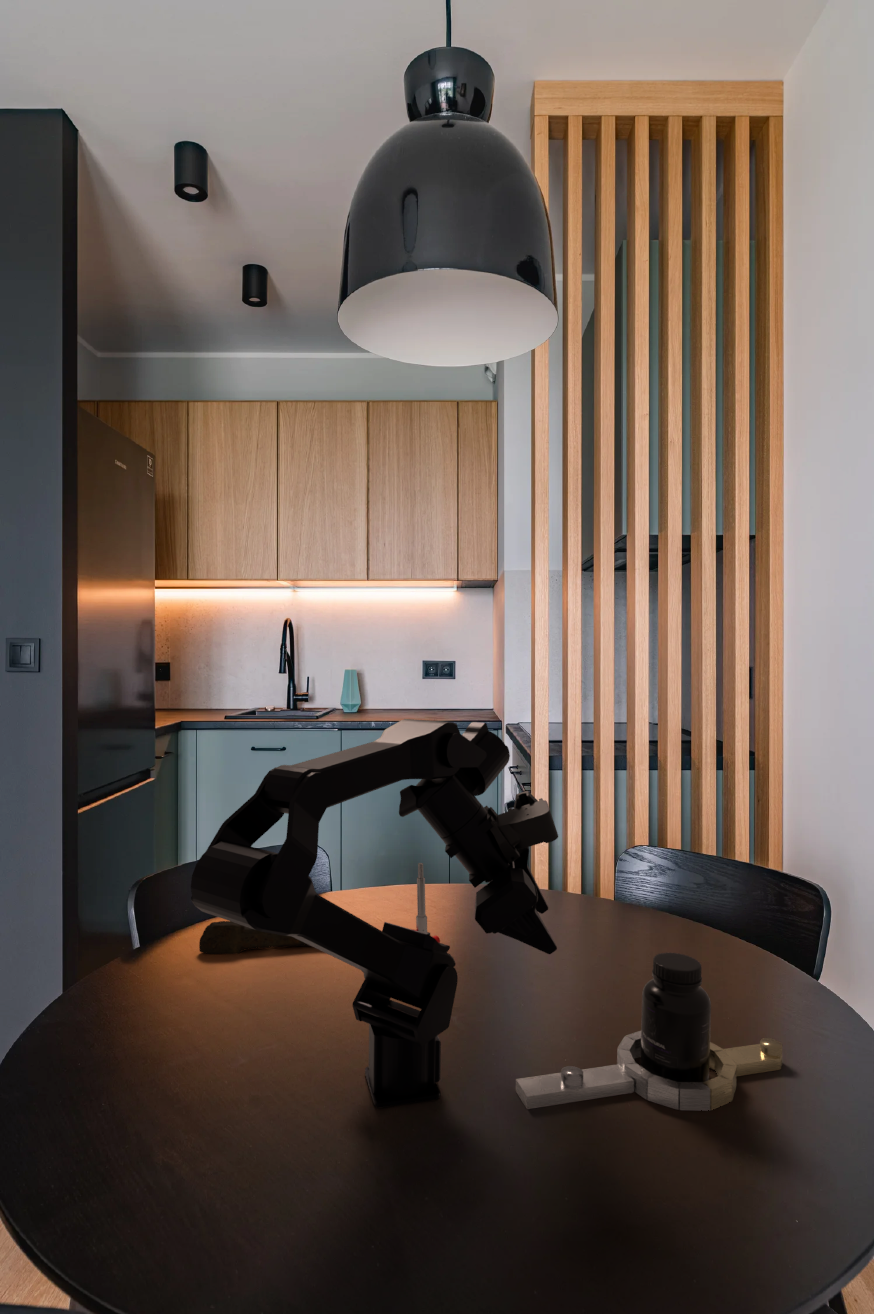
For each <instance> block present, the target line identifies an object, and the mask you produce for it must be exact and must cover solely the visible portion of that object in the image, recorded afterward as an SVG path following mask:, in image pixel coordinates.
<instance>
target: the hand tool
mask: <svg viewBox="0 0 874 1314" xmlns="http://www.w3.org/2000/svg"><path fill="white" fill-rule="evenodd" d="M299 946H300V947H301V946H309V945H308V944H306V943H304V942H302V941H300V940H298V939H296V938H294V937H292V936H283V935H278V934H272V933H267V932H261V931H258V930H255V929H252V928H249V927H246V926H243V925H240V924H237V923H234V922H231V921H228V920H226V921H225V920H222V921H221V920H220V921H214V922H211V923H210V924H208V925H206V927H205V928H204V930H203V933H202V935H201V936H200V939H199V952H200V953H203V954H207V955H208V954H209V955H237V954H240V953H242V952H243V951H245V950H254V949H270V948H281V947H282V948H283V947H299Z"/></svg>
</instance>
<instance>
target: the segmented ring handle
mask: <svg viewBox="0 0 874 1314" xmlns="http://www.w3.org/2000/svg"><path fill="white" fill-rule="evenodd" d="M616 1050H617V1052H616V1055H617V1058H616V1064H611V1065H604V1066H598V1067H590V1068H585V1069H583V1068H582V1069H581V1068H579V1067H577V1066H574V1065H573V1066H572V1065H567V1066H564V1067H562V1068H561V1069H560V1072H557V1073H556V1072H555V1073H548V1074H543V1075H542V1074H541V1075H536V1076H529V1077H521V1078H515V1092H516V1094H517V1096H518V1097H519V1099H520V1100H521V1103H522V1104H523V1106H524V1107H525V1108H526V1109H527V1110H530V1109H536V1108H537V1109H538V1108H544V1107H550V1106H556V1105H562V1104H571V1103H575V1102H581V1101H583V1102H584V1101H588V1100H594V1099H595V1100H596V1099H603V1098H606V1097H607V1098H608V1097H614V1096H620V1095H626V1094H632V1093H636V1094H637V1095H639V1096H641V1098H643V1099H645V1100H646V1101H649V1102H651V1103H654V1104H658V1105H661V1106H665V1107H668V1108H671V1109H674V1110H676V1111H677V1110H679V1111H698V1112H699V1111H701V1110H702V1111H703V1112H704V1111H706V1112H709V1111H711V1110H710V1088H709V1087H707V1086H708V1085H704V1084H703V1083H705V1082H677V1081H673V1080H670V1079H666V1078H663V1077H659V1076H656V1075H653V1074H652V1073H650V1072H649V1071H647V1070H645V1069H644V1068H642V1067H641V1065H639V1064H638V1063H637V1062H636V1061H635V1060H636V1059H638V1058H641V1030H638V1031H635V1032H633V1033H629V1034H627V1035H625V1036H623V1038H622V1040H621V1041H620V1043H619V1045H618V1046H617V1049H616ZM708 1110H709V1111H708Z"/></svg>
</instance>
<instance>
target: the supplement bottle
mask: <svg viewBox="0 0 874 1314" xmlns="http://www.w3.org/2000/svg"><path fill="white" fill-rule="evenodd" d="M651 976H652V979H649V981H647V982H646V983H645V985H644V987H643V989H642V992H641V993H642V994H641V1018H640V1019H641V1022H640V1023H641V1024H640V1026H641V1027H640V1028H641V1029H640V1031H641V1057H640V1066H641V1067H642V1068H644V1069H645V1070H647V1071H649V1072H650V1073H652V1074H653V1075H656V1076H659V1077H663V1078H666V1079H670V1080H673V1081H677V1082H705V1081H708V1080H710V1068H709V1065H710V1042H711V1021H712V1001H711V999H710V996H709V994H708V993H707V991H706V990H705V989H704V988H703V987H702V984H703V977H702V964H701V962H700V961H699V960H697V959H696V958H694V957H692V956H689V955H686V954H683V953H677V952H662V953H657V954H656V955H654V956H653V959H652V971H651Z"/></svg>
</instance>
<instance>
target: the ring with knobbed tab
mask: <svg viewBox="0 0 874 1314" xmlns="http://www.w3.org/2000/svg"><path fill="white" fill-rule="evenodd" d="M782 1066H783V1044H782V1042H780V1041H779V1040H777V1039H774V1038H771V1037H764V1038H761V1039H760V1040H759V1043H757V1044H750V1045H743V1046H734V1047H729V1048H722V1047H720V1046H719V1045H717V1044H715V1043H714V1042H711V1041H710V1065H709V1067H710V1068H709V1069H711V1070H712V1071H714V1070H715V1071H716V1072H715V1071H714V1072H715V1073H717V1074H716V1075H717V1076H716V1077H713V1078H711V1079H710V1078H709V1080H708V1081H705V1083H703V1084H704V1085H708V1086H707V1087H709V1088H710V1111H714V1110H716V1109H717V1108H720V1106H721V1107H722V1106H725V1105H727V1104H729V1102H730V1103H732V1102H733V1100H734V1096H735V1093H736V1089H737V1077H742V1076H747V1075H754V1074H762V1073H767V1072H772V1071H773V1072H774V1071H779V1070H782ZM713 1109H714V1110H713Z"/></svg>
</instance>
